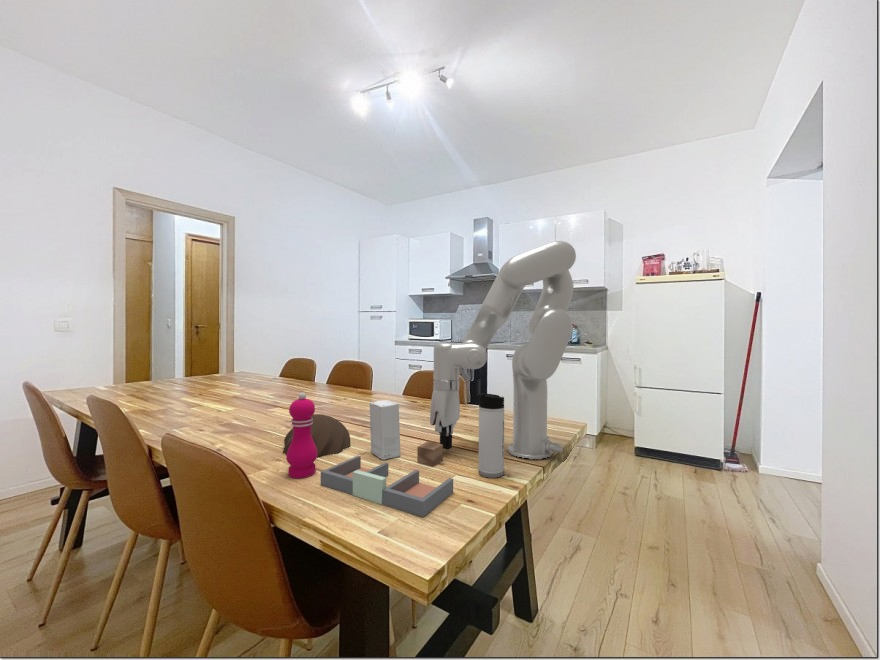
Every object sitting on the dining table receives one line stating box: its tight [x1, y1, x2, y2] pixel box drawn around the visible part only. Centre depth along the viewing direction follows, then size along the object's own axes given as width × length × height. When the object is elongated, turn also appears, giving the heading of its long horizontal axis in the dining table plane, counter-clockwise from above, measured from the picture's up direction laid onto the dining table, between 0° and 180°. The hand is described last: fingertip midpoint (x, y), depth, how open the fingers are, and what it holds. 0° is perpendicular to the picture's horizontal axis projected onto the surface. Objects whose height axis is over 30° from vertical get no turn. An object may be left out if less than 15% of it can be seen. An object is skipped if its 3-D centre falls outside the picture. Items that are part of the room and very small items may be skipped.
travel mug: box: [477, 392, 505, 479], centre depth 91 cm, size 6×7×20 cm
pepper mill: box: [285, 392, 318, 479], centre depth 90 cm, size 7×7×20 cm
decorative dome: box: [282, 413, 351, 459], centre depth 110 cm, size 19×20×10 cm
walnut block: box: [416, 440, 444, 467], centre depth 99 cm, size 5×5×4 cm
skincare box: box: [369, 399, 401, 461], centre depth 104 cm, size 8×6×15 cm
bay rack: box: [320, 455, 454, 518], centre depth 82 cm, size 28×12×5 cm, turn 60°
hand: (445, 448), depth 106 cm, fingers closed
